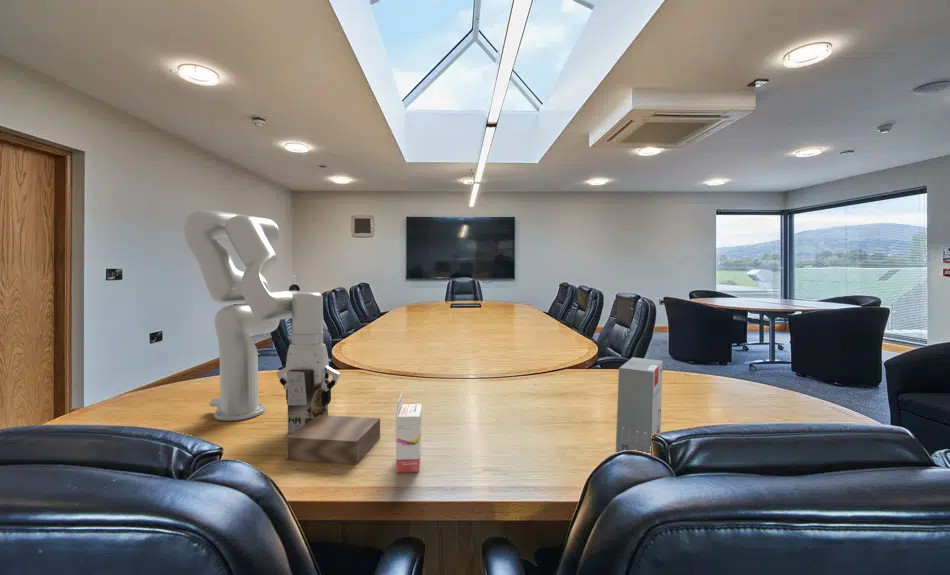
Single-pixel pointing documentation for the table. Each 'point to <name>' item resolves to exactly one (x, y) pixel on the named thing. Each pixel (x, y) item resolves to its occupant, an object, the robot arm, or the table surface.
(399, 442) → the ink cartridge box
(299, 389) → the chocolate food box
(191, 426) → the table surface
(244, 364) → the robot arm
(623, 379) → the hard drive box
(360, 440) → the walnut plinth
